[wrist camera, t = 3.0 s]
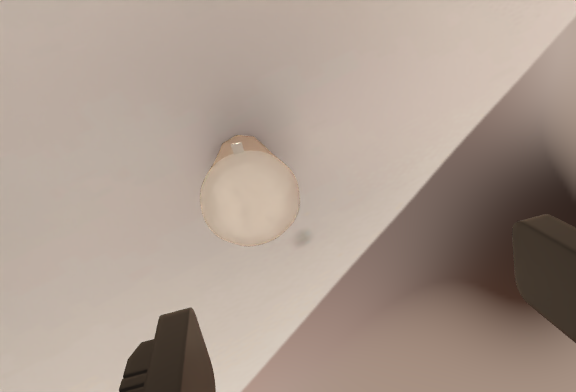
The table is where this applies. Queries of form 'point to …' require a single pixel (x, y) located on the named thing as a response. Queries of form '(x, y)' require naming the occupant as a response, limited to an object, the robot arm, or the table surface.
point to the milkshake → (248, 193)
